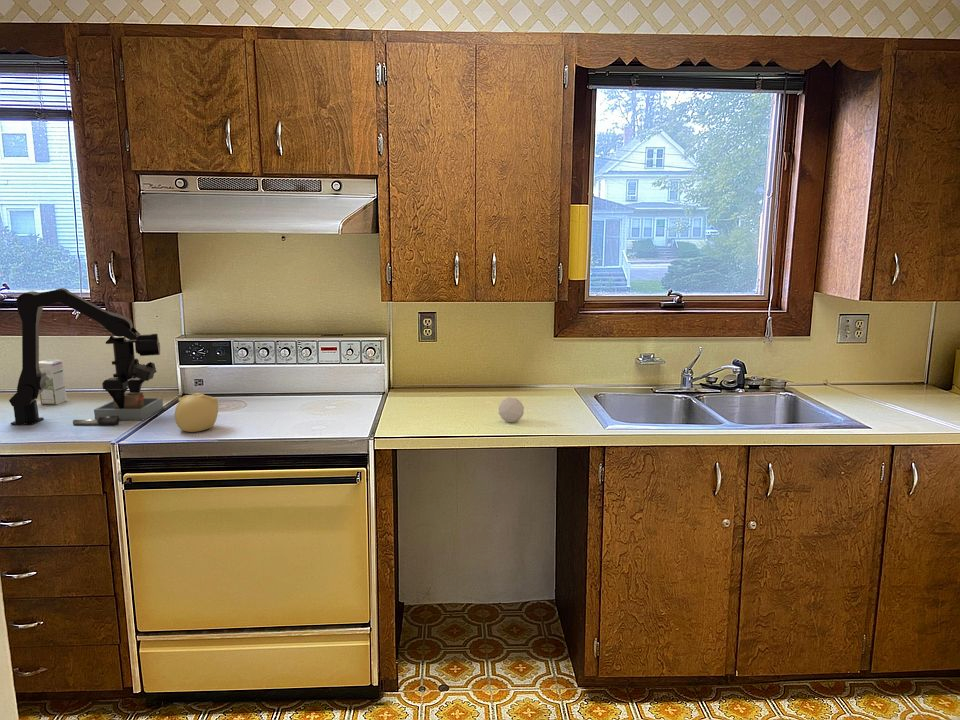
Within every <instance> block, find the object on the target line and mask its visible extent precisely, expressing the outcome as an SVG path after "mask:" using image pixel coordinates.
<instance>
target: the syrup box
mask: <svg viewBox="0 0 960 720" xmlns="http://www.w3.org/2000/svg"><path fill="white" fill-rule="evenodd" d="M39 369H40V371H41V373H46V378H45V381H46V384H47V385H46V386H45V387H44V389H43V391H42V392H41V393H40V394H39V398H40V399H39V400H40V404H41V405H60V404H62V403H65V402H67V401H68V400H67V399H68V398H67V397H68V396H67V393H66V392H67V391H66V384H65V383H66V382H65V373H64V366H63V360H62V359H43V360H39Z"/></svg>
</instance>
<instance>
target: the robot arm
mask: <svg viewBox="0 0 960 720" xmlns="http://www.w3.org/2000/svg"><path fill="white" fill-rule="evenodd" d="M56 303H60V304H63V305H64V306H67V307H69V308H70V309H72V310H74V311H76V312H78V313H80V314H82V315H84V316H86V317H88V318H89V319H91V320H94V321H96V322H97V323H99V325H101V326H102V327H103V328H104V330H107V331H108V332H109V333H111V334H112V335H110V336H109V338H108V339H107V340H106V341H105V344H106V345H112V346H113V347H112V349H113V360H112V361H111V365H113V366H114V368H115V373H113V374H112V375H113V376H112V377H109V378H107V379H105V380H103V382H102V383H101V384H102V385H101V386H102V390H105V392H107V393H108V395H110V396H111V398H112V399H114V401H115V402H116V404H117V405H118V406H119V408H120V409H124V400H125V393H127V391H128V389H129V393H136V392H141V389H142V386H143V384H144V383H145V382H148V381H150V380H153V379H154V375H155V373H157V370H156V369H157V368H156V365H155V362H151V361H150V362H148V363H146V364H144V363H143V364H142V363H140V362H139V359H138V358H135V357H136V355H135V353H136V354H137V355H139V356H140V357H144V356H145V357H146V356H147V357H148V356H160V355H161V344H160V340H159V335H158V333H151V334H141V333H140V332H139V331H138V330H137V329H136V328H135V327H134V326H133V321H132V319H130V318H129V317H128V316H125V315H124V314H123V315H122V314H119V313H116V312H112V311H108V310H105V309H103V308H101V307H100V306H98V305H96V304H94V303H92V302H91V301H88V300H86V299H85V298H82V297H80V296H79V295H77V294H75V293H73V292H72V291H69V290H68V289H67V288H63V287H60V288H56V289H54V290H49V291H44V292H37V291H33V290H30V291H27V292H24V293H21V294H20V295H19V296H18V297H17V298H16V301H15V304H16V308H17V314H18V316H19V318H20V321H21V332H22V333H21V338H22V339H21V340H22V341H21V343H22V344H21V347H22V350H21V351H22V353H21V355H22V356H21V357H22V358H21V359H22V360H21V361H22V362H21V364H22V365H21V367H22V368H21V372H20V375H19V377H18V383H17V387H16V393H15V394H13V395H12V396H11V397H10V399H8V401H9V404H10V405H11V407H13V413H14V414H13V415H14V420H13V421H12V422H10V425H13V426H14V425H15V426H16V425H18V426H19V425H22V426H23V425H26V426H28V425H30V426H31V425H33V424H37V423H38V422H40V421H42V420H44V417H43V416H42V417H41V416H39V408H38V403H37V399H38V397H39V396H40V393H41V392H42V391H43V389H44V387H45V386H46V385H47V384H46V381H45V378H46V373H41V371H40V369H39V361H40V352H39V351H40V343H39V342H40V341H39V340H40V333H39V332H40V319H41V317H42V313H43V309H44V306H48V305H53V304H56Z"/></svg>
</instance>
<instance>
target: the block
mask: <svg viewBox="0 0 960 720" xmlns="http://www.w3.org/2000/svg"><path fill="white" fill-rule="evenodd" d="M144 398H145V394H144V392H141V391H140V392H136V393H130V392H125V400H124V409H141V408H142V407H144ZM112 399H113V398H112ZM113 401H114V399H113ZM114 409H120V408H119V406H118V405H117V404H116V402H115V401H114Z"/></svg>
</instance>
